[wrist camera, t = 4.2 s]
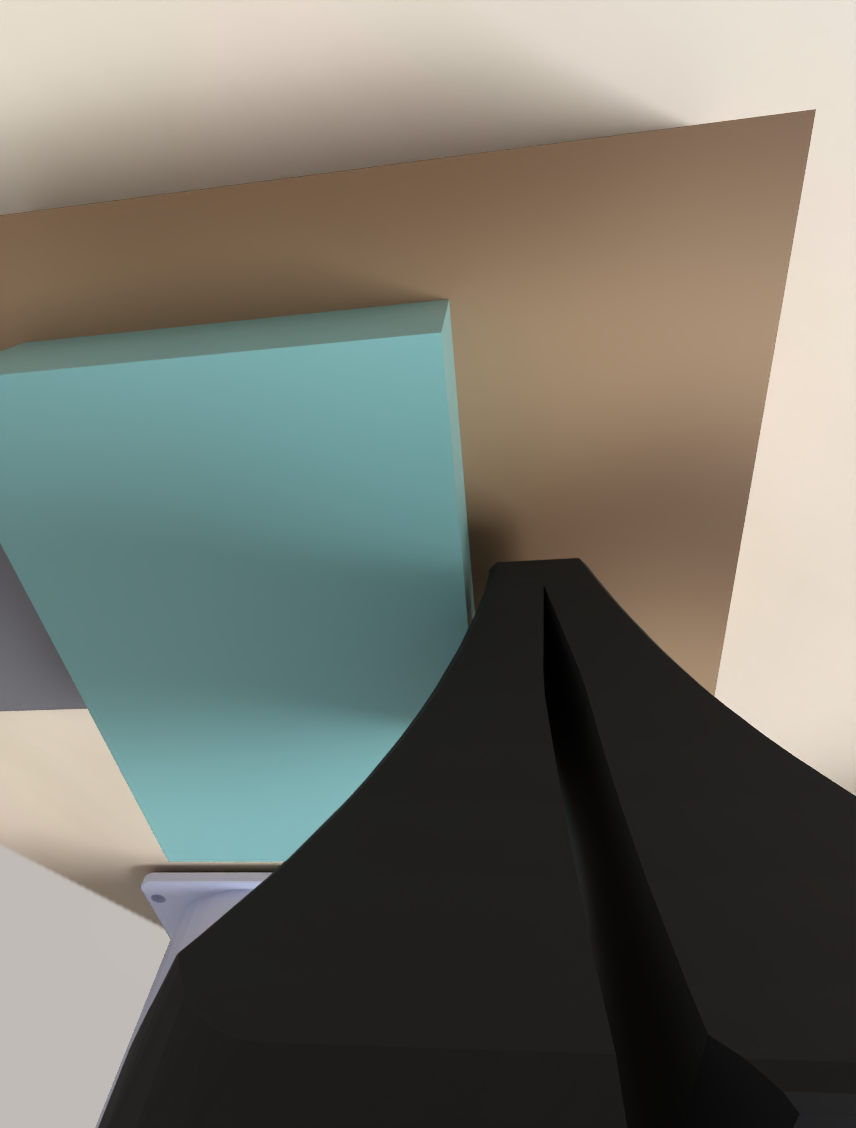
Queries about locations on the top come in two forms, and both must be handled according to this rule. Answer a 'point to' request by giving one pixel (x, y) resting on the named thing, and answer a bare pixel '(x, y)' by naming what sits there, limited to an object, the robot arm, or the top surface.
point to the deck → (507, 327)
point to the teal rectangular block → (243, 554)
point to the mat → (29, 654)
